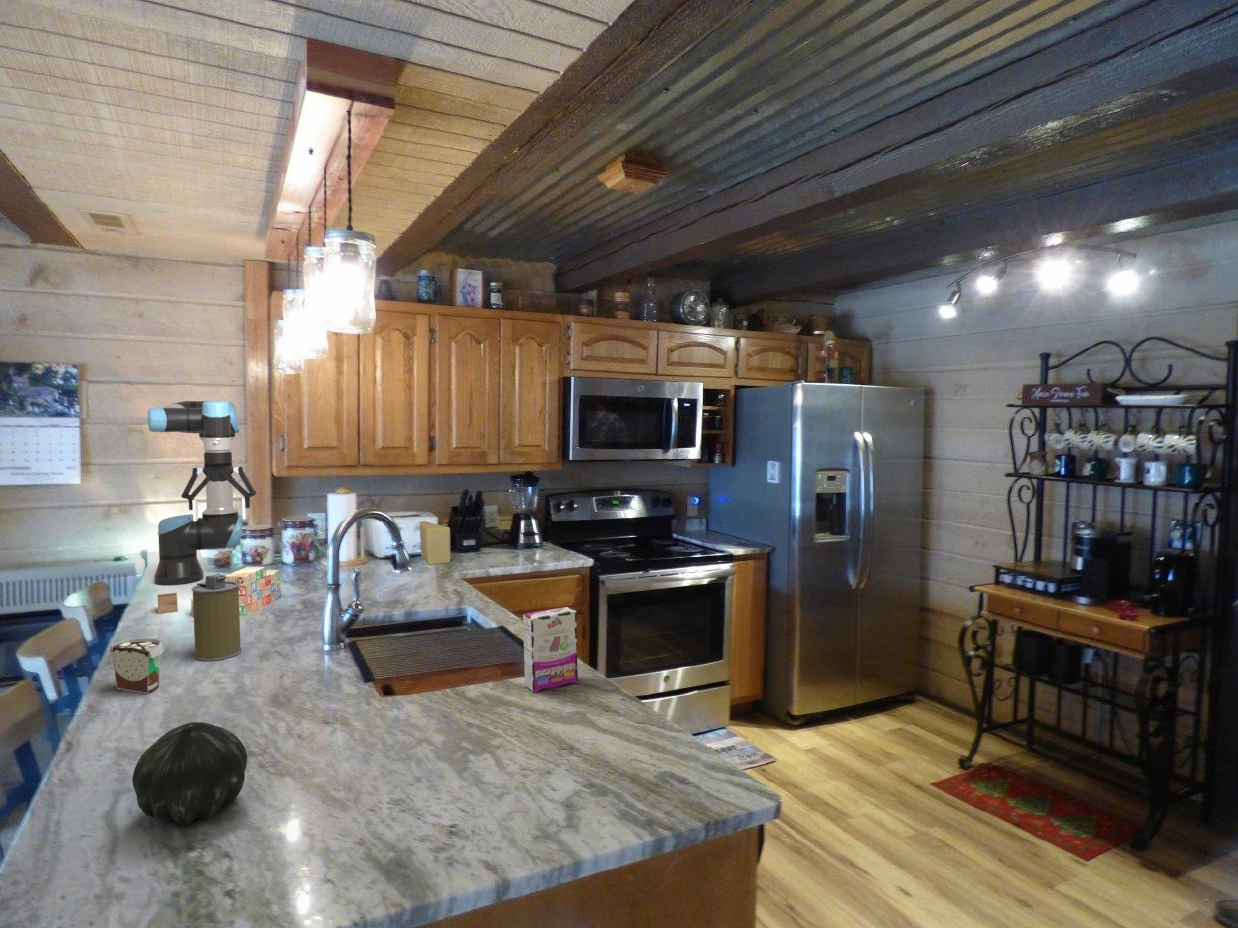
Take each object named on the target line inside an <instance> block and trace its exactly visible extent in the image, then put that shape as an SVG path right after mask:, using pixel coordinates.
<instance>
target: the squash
mask: <svg viewBox="0 0 1238 928" xmlns="http://www.w3.org/2000/svg"><path fill="white" fill-rule="evenodd" d="M245 747H246V746H244V744H243V742H242V740H241V739H240V738H239V737H238V736H237V735H236V734H234V733H233V732H231V731H230V730H228V729H225V728H223V727H220V726H218V725H214V724H212V723H208V722H202V721H196V722H195V721H194V722H193V721H192V722H188V723H184V724H181V725H179V726H177V727H174V728H172V729H170V730H168V731H167V732H166V733H164V734H163V735H162V736H160V737H159V738H158V739H157V740H156V742H154V743H152V745H150V746H149V747H148V748H147V749H145V751H144V752H143V753H142V754H141V756H139V759H138V761H137V763H136V765H135V767H134V769H133V773H132V778H131V779H132V780H131V781H132V787H133V790H134V793H135V794H136V795H135V796H136V802H137V805H138V807H139V809H140V811H141V812H142V813H143V814H144V815H145V816H147V817H150V818H154V819H155V818H156V819H159V820H160V821H163V822H164V821H172V820H173V821H175V823H177V824H179V825H181V826H187V825H190V824H191V823H192V822H194V821H195V819H196V818H199V819H203V820H208V819H210V818H211V817H212V816H214V815H215V814H216V813H217V812H218V810H219V809H222V808H225V807H227V806H229V805H231V803H233V802H234V801H235V800H236V798H237V797H238V796H239V795H240V793H241V791H242V789H243V786H244V782H245V778H246V777H245V776H246V775H245V774H246V769H247V765H248V754H247V750H246V748H245Z"/></svg>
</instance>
